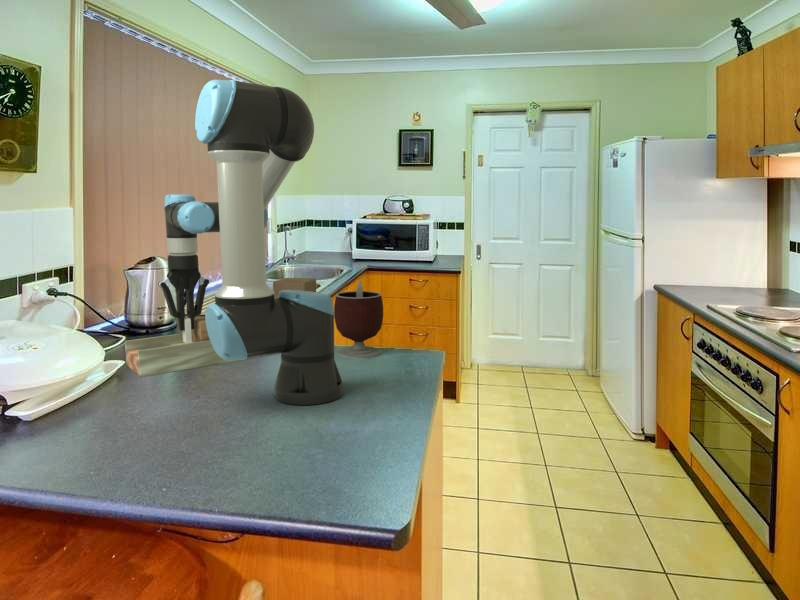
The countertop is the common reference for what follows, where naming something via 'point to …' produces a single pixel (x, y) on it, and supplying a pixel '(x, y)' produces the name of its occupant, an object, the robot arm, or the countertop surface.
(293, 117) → the robot arm
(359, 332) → the mate gourd
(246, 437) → the countertop surface
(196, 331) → the walnut block
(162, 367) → the channel runway
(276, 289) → the wooden block
